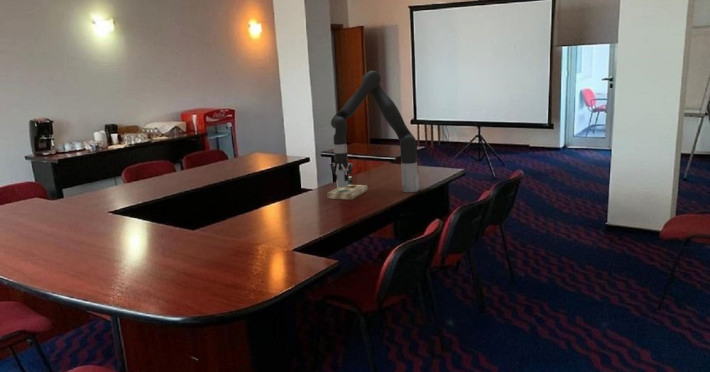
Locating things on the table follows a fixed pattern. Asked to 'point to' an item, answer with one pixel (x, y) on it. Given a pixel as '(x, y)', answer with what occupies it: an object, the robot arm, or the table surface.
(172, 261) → the table surface
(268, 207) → the table surface
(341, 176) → the metal block
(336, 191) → the pocket board
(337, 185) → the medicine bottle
